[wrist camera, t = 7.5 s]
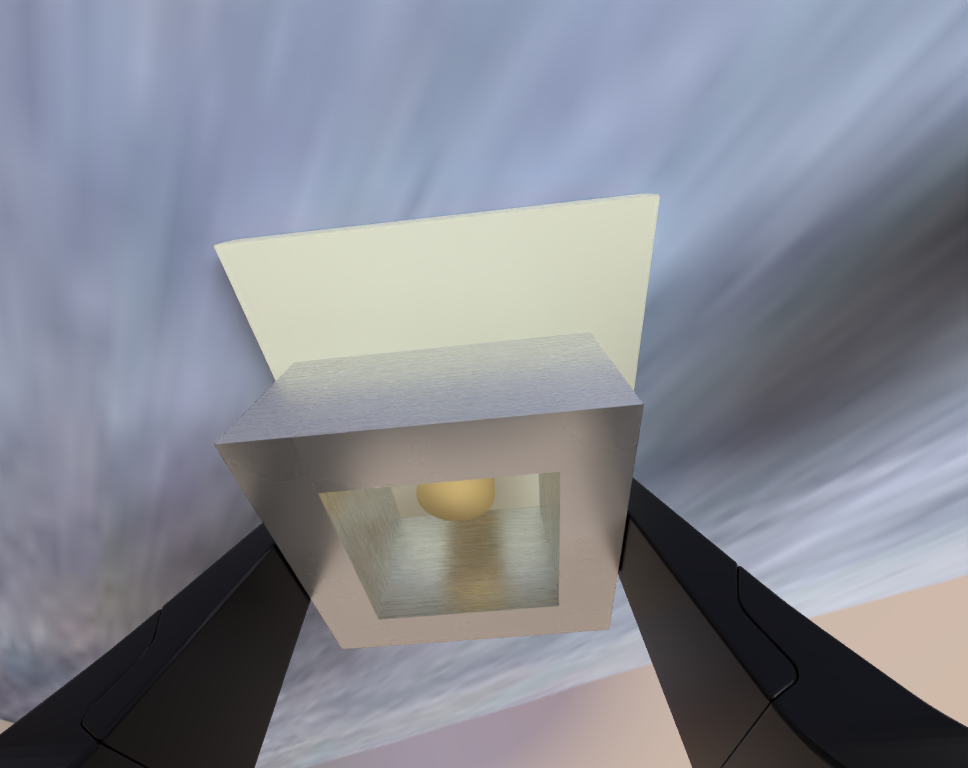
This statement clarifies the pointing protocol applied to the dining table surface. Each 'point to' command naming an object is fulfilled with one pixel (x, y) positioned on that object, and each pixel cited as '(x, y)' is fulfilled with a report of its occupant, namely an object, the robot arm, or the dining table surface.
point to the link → (444, 458)
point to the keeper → (452, 299)
